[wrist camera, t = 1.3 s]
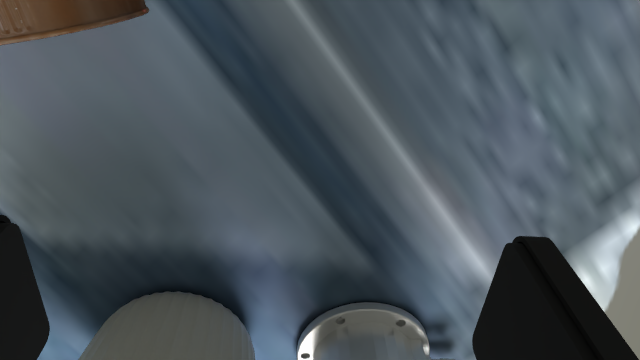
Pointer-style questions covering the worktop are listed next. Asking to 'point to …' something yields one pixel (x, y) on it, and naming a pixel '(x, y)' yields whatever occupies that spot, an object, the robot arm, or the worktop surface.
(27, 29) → the tin
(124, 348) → the canister
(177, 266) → the worktop surface
